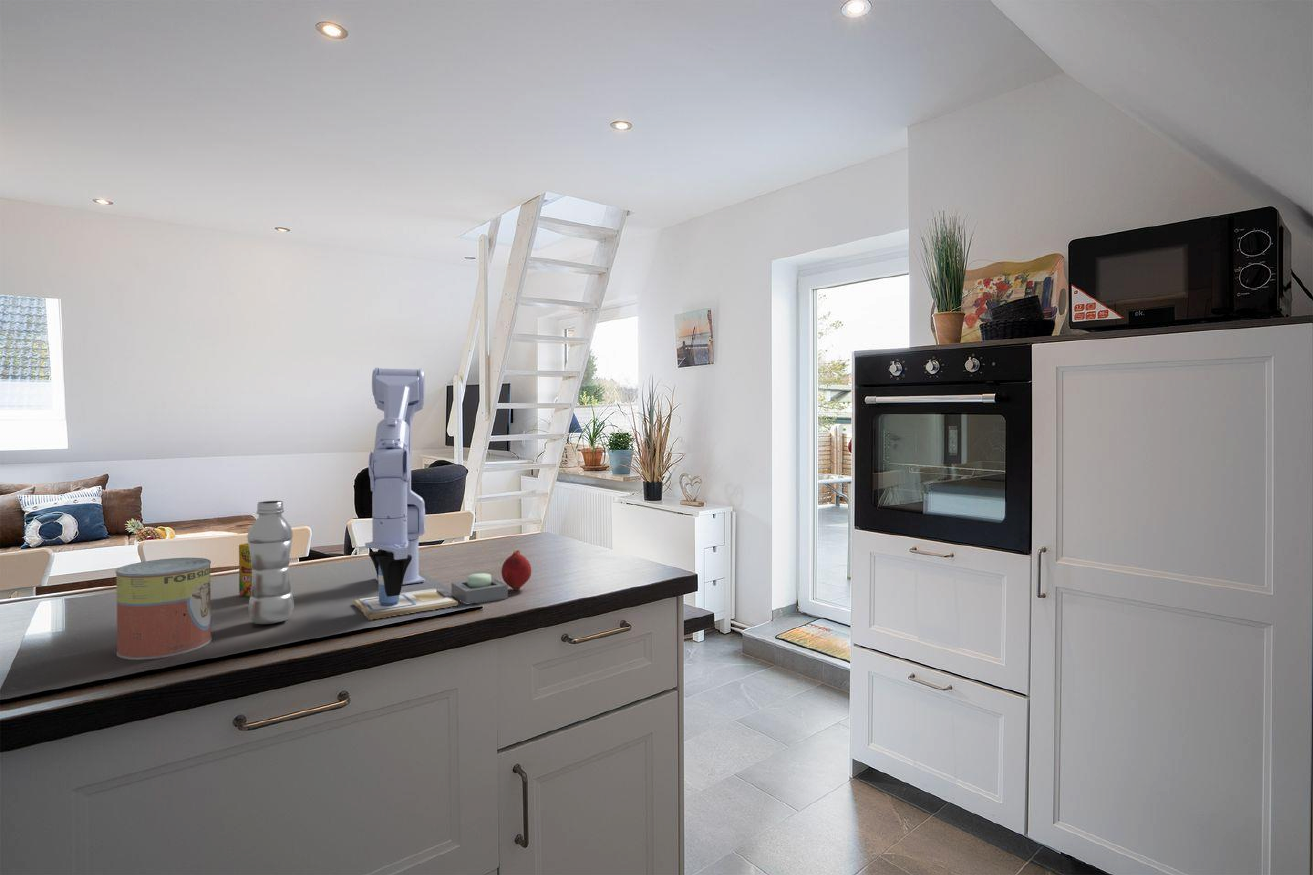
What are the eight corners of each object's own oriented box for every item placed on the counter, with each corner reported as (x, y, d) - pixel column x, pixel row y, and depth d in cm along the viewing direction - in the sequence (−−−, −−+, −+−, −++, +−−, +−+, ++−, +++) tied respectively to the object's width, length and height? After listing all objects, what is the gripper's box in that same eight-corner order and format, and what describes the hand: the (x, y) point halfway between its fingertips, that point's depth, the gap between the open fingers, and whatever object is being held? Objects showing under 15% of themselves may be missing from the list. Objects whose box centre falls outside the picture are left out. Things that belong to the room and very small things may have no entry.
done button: (463, 585, 127) (463, 575, 127) (486, 582, 129) (486, 572, 129) (472, 590, 123) (472, 579, 123) (494, 587, 126) (494, 576, 126)
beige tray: (354, 604, 121) (354, 596, 121) (436, 592, 129) (436, 584, 129) (369, 620, 111) (369, 612, 111) (458, 606, 120) (458, 598, 120)
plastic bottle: (303, 618, 112) (302, 500, 111) (268, 630, 105) (267, 505, 105) (274, 614, 114) (273, 498, 113) (238, 626, 107) (237, 503, 107)
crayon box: (238, 596, 126) (237, 534, 125) (252, 592, 128) (252, 532, 128) (265, 600, 123) (265, 537, 123) (280, 596, 126) (279, 535, 125)
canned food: (190, 656, 94) (189, 572, 93) (98, 662, 91) (97, 575, 91) (224, 631, 105) (223, 556, 104) (143, 636, 102) (142, 558, 102)
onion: (527, 593, 129) (527, 552, 129) (498, 593, 129) (498, 552, 129) (533, 586, 135) (533, 547, 134) (505, 585, 135) (505, 546, 134)
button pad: (451, 595, 127) (451, 582, 127) (491, 589, 132) (491, 576, 132) (466, 605, 121) (466, 591, 121) (507, 598, 125) (507, 585, 125)
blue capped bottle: (377, 602, 118) (376, 563, 118) (397, 600, 120) (397, 561, 120) (380, 607, 115) (380, 567, 115) (401, 604, 117) (401, 565, 117)
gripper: (356, 513, 121) (356, 587, 121) (375, 523, 109) (376, 605, 109) (396, 510, 125) (397, 582, 125) (419, 520, 113) (419, 599, 113)
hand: (390, 593), depth 117 cm, fingers closed on blue capped bottle, 3 cm apart
